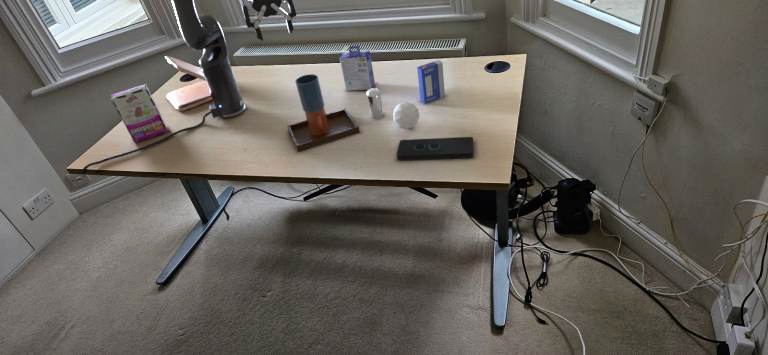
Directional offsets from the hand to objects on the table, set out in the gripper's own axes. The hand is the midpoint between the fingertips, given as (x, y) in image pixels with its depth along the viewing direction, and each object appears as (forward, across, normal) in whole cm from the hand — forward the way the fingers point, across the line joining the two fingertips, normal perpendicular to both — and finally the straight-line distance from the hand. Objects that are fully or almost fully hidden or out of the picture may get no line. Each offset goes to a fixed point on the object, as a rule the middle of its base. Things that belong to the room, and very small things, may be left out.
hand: (276, 36), depth 136 cm
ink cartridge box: (+28, -25, -12) cm, 40 cm away
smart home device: (+28, -29, +41) cm, 57 cm away
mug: (+27, -4, +13) cm, 30 cm away
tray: (+28, -5, +12) cm, 31 cm away
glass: (+19, -4, +11) cm, 23 cm away
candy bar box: (+28, +48, -22) cm, 60 cm away
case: (+28, +31, -46) cm, 62 cm away
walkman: (+28, -42, +12) cm, 52 cm away
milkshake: (+28, -23, +12) cm, 38 cm away
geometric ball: (+28, -28, +24) cm, 46 cm away
